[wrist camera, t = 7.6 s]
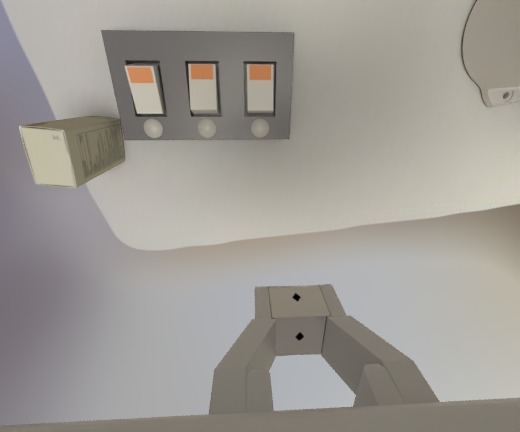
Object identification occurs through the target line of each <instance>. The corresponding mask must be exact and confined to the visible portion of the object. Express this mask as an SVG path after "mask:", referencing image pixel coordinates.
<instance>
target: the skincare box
mask: <svg viewBox="0 0 520 432" xmlns="http://www.w3.org/2000/svg"><path fill="white" fill-rule="evenodd" d="M19 130H20V134H21V138H22V142H23V146H24V149H25V152H26V155H27V159H28V162H29V165H30V169H31V172H32V175H33V178H34V181H35V183H36V184H39V185H48V186H56V187H66V188H77V187H79V186H80V185H82V184H84V183H86V182H88V181H89V180H91V179H93V178H95V177H97V176H99V175H100V174H102V173H104V172H106V171H108V170H110V169H111V168H113V167H115V166H117V165H119V164H121V163H122V162H124V161H125V154H124V145H123V137H122V130H121V124H120V120H119V119H114V118H107V117H98V116H86V117H78V118H71V119H63V120H56V121H49V122H41V123H35V124H28V125H21V126H19Z"/></svg>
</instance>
